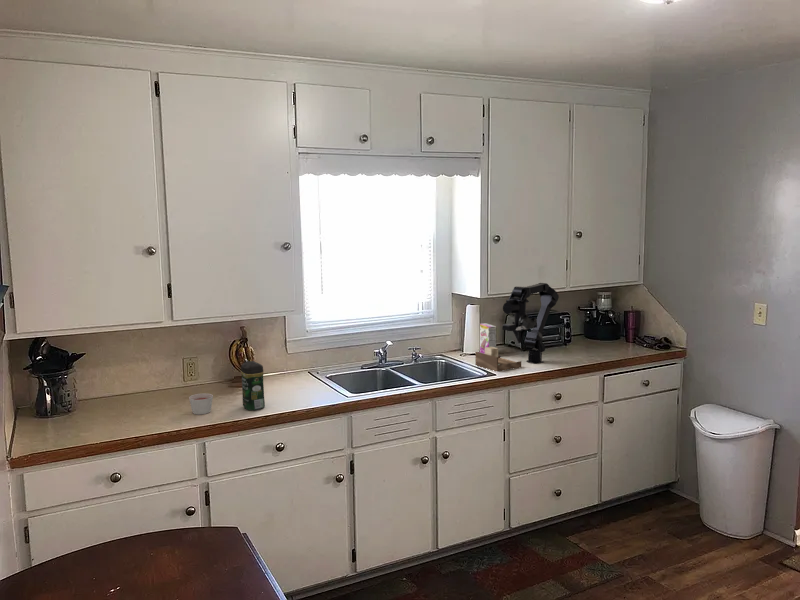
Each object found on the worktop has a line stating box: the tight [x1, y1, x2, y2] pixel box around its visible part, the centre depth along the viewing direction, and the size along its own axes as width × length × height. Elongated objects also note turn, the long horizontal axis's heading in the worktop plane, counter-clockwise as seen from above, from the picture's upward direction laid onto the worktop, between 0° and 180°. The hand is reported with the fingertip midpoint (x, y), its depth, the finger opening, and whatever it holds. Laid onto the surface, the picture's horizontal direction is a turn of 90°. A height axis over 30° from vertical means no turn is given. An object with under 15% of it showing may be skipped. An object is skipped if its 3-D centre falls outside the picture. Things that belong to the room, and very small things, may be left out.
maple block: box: [485, 347, 499, 357], centre depth 325 cm, size 4×5×8 cm
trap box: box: [475, 351, 522, 372], centre depth 328 cm, size 16×16×7 cm
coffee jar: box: [240, 360, 266, 411], centre depth 261 cm, size 10×8×19 cm
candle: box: [188, 392, 214, 415], centre depth 256 cm, size 9×9×6 cm
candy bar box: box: [479, 322, 497, 354], centre depth 355 cm, size 11×5×16 cm, turn 22°
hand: (519, 342), depth 327 cm, fingers closed
